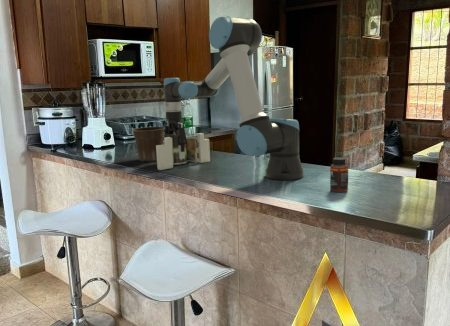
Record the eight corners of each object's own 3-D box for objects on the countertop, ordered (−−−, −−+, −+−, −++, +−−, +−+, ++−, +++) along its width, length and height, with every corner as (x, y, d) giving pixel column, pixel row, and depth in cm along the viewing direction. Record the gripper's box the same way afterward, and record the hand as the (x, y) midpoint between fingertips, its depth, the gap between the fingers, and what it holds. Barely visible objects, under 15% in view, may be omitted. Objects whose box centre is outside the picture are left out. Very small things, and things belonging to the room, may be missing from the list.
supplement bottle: (351, 190, 145) (351, 157, 142) (343, 193, 140) (343, 160, 138) (335, 187, 149) (335, 156, 146) (326, 191, 144) (327, 158, 142)
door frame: (210, 161, 206) (208, 132, 203) (160, 170, 190) (158, 139, 187) (207, 160, 208) (206, 132, 205) (157, 169, 191) (155, 138, 189)
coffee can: (189, 160, 208) (188, 132, 205) (183, 164, 198) (181, 135, 195) (170, 160, 210) (168, 132, 207) (162, 164, 200) (160, 135, 197)
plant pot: (143, 164, 205) (140, 131, 202) (129, 159, 218) (127, 128, 215) (172, 159, 215) (170, 128, 212) (157, 155, 228) (155, 126, 224)
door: (198, 160, 208) (197, 137, 206) (195, 161, 205) (194, 138, 203) (176, 158, 214) (175, 137, 212) (173, 159, 211) (171, 138, 209)
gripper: (155, 110, 206) (158, 155, 210) (179, 112, 188) (182, 161, 192) (168, 109, 210) (171, 153, 214) (193, 111, 192) (195, 158, 197)
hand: (176, 157), depth 203 cm, fingers closed on coffee can, 10 cm apart
